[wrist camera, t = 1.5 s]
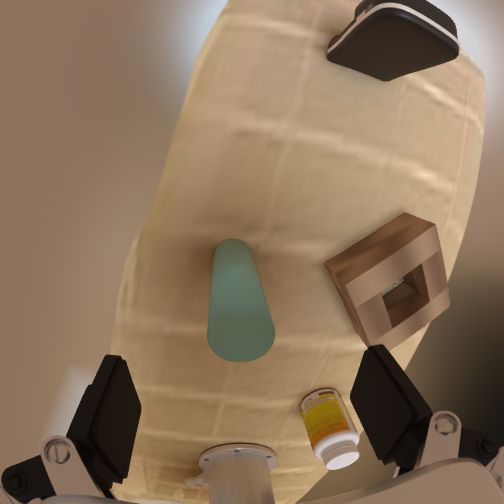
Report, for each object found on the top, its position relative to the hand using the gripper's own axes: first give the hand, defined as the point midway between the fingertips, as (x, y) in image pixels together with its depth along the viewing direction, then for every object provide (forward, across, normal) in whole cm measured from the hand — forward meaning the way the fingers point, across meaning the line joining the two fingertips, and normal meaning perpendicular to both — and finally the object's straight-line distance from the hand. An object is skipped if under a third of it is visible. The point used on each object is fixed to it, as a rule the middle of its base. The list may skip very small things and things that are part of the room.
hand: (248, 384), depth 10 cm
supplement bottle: (+16, -11, +21) cm, 28 cm away
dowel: (+16, 0, +1) cm, 16 cm away
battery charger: (+16, -12, -19) cm, 28 cm away
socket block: (+16, -15, +3) cm, 22 cm away
